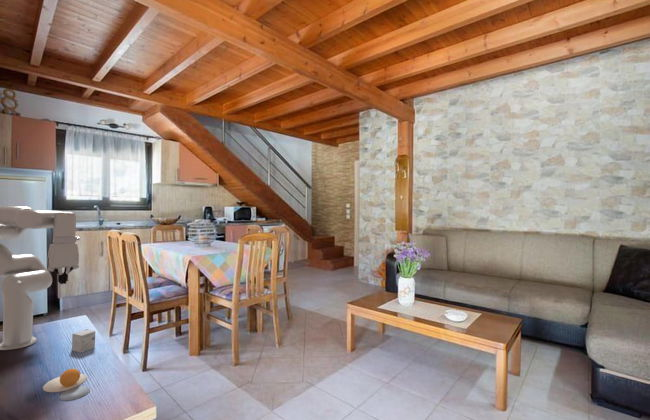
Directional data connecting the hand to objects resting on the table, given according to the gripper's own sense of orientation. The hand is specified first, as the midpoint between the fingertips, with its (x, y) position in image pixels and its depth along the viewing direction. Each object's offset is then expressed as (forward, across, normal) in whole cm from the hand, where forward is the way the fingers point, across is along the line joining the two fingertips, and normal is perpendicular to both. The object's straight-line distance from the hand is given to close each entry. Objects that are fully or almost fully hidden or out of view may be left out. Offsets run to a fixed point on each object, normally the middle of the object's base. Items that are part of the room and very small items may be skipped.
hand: (62, 283), depth 137 cm
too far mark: (+29, +6, +42) cm, 51 cm away
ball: (+26, +6, +35) cm, 44 cm away
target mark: (+29, +6, +32) cm, 43 cm away
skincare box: (+29, -7, +4) cm, 30 cm away
